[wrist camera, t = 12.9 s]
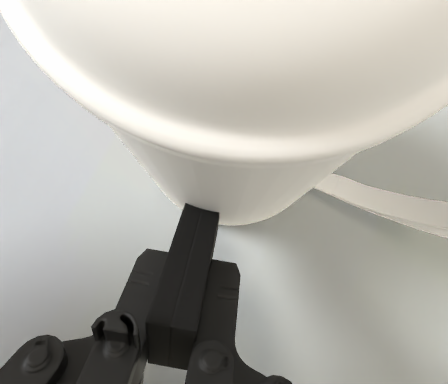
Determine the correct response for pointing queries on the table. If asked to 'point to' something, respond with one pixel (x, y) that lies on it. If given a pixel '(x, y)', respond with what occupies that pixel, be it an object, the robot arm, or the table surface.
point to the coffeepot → (250, 92)
